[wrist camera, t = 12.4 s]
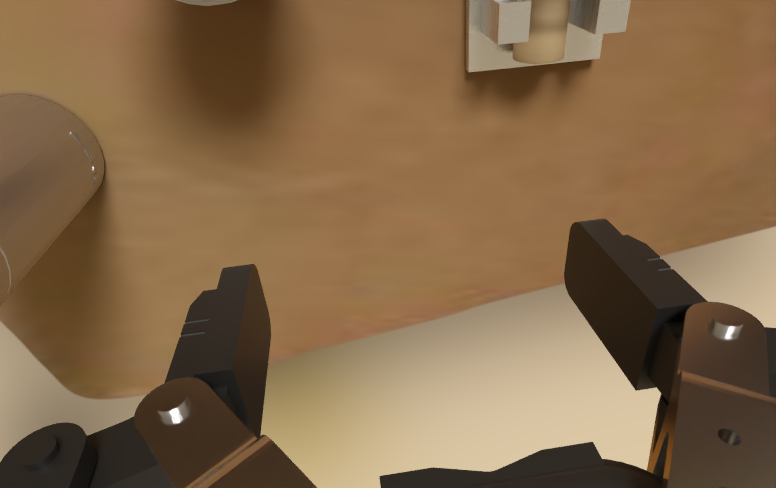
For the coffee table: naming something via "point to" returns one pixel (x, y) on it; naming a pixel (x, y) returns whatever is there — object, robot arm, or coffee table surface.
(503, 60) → the white peg stand
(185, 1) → the disposable coffee cup
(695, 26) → the coffee table surface
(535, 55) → the dowel
